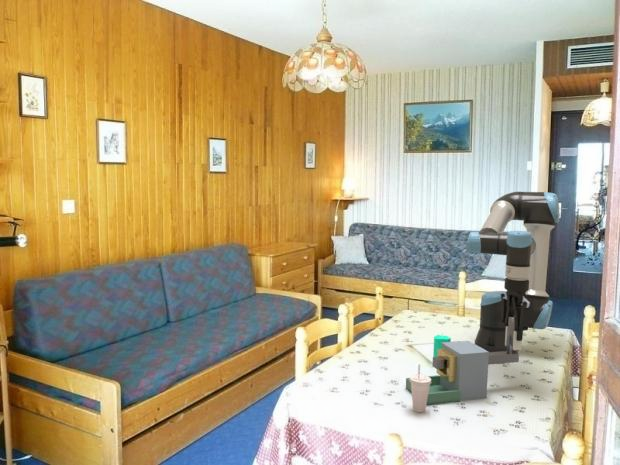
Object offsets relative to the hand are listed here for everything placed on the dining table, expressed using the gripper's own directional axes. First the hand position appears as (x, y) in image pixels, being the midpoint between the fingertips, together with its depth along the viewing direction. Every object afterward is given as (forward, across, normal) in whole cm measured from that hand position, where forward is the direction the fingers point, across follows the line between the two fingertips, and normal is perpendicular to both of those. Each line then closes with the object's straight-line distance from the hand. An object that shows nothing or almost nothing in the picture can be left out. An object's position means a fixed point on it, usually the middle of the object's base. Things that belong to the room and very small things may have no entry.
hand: (512, 347), depth 182 cm
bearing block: (+14, 0, -18) cm, 23 cm away
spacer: (+4, 0, -24) cm, 25 cm away
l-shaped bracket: (+5, 0, -13) cm, 14 cm away
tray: (+14, 0, -29) cm, 32 cm away
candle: (+14, -25, -12) cm, 31 cm away
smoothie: (+14, +9, -38) cm, 42 cm away
